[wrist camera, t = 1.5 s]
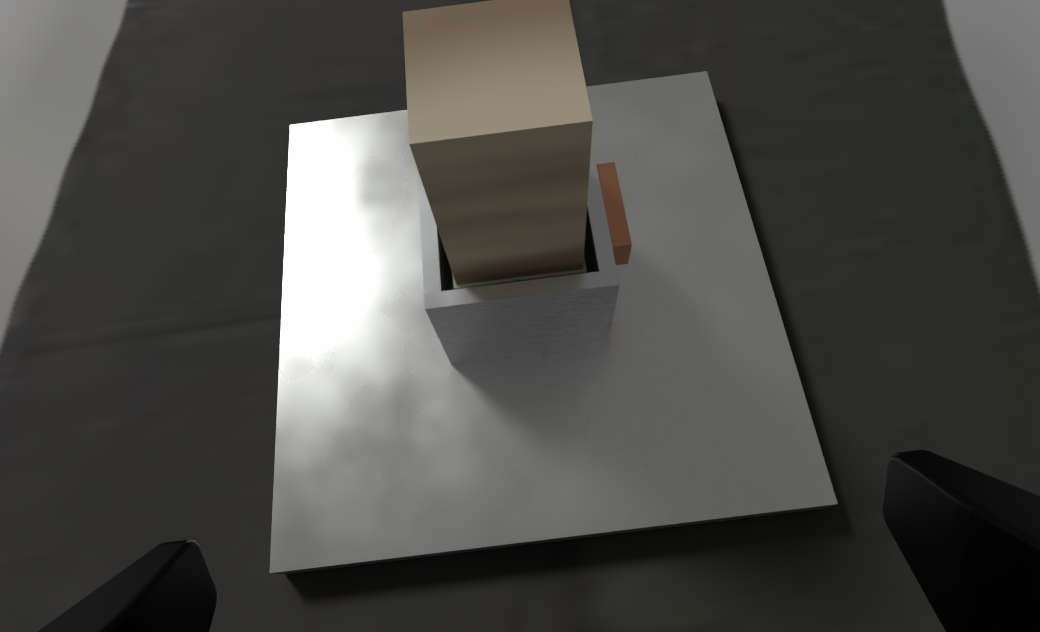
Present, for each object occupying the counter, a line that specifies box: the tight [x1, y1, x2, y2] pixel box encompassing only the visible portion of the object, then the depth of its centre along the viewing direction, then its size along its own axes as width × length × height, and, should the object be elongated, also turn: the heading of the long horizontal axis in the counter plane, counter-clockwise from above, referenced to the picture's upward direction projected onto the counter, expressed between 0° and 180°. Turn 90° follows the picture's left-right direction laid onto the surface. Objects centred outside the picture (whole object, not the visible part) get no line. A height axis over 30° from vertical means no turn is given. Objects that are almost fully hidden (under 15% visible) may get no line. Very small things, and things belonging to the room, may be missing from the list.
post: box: [403, 0, 593, 290], centre depth 19 cm, size 4×4×10 cm
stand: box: [270, 71, 838, 574], centre depth 22 cm, size 18×18×6 cm
